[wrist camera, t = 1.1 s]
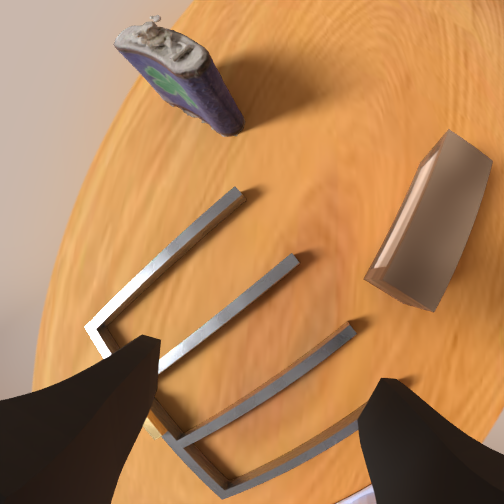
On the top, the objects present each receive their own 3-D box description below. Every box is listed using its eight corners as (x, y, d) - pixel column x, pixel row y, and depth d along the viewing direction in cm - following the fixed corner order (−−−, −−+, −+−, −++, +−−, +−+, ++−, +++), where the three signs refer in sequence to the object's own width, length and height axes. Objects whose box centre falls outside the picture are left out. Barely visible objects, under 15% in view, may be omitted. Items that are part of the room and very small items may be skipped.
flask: (158, 99, 25) (93, 30, 14) (179, 76, 24) (123, 2, 14) (231, 144, 23) (177, 61, 12) (255, 117, 23) (217, 24, 12)
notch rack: (399, 388, 19) (408, 400, 16) (226, 490, 20) (218, 506, 18) (240, 191, 22) (231, 181, 20) (95, 325, 24) (77, 328, 21)
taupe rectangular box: (455, 186, 19) (492, 161, 13) (402, 303, 19) (434, 312, 14) (419, 163, 20) (448, 129, 14) (363, 279, 20) (382, 279, 14)
